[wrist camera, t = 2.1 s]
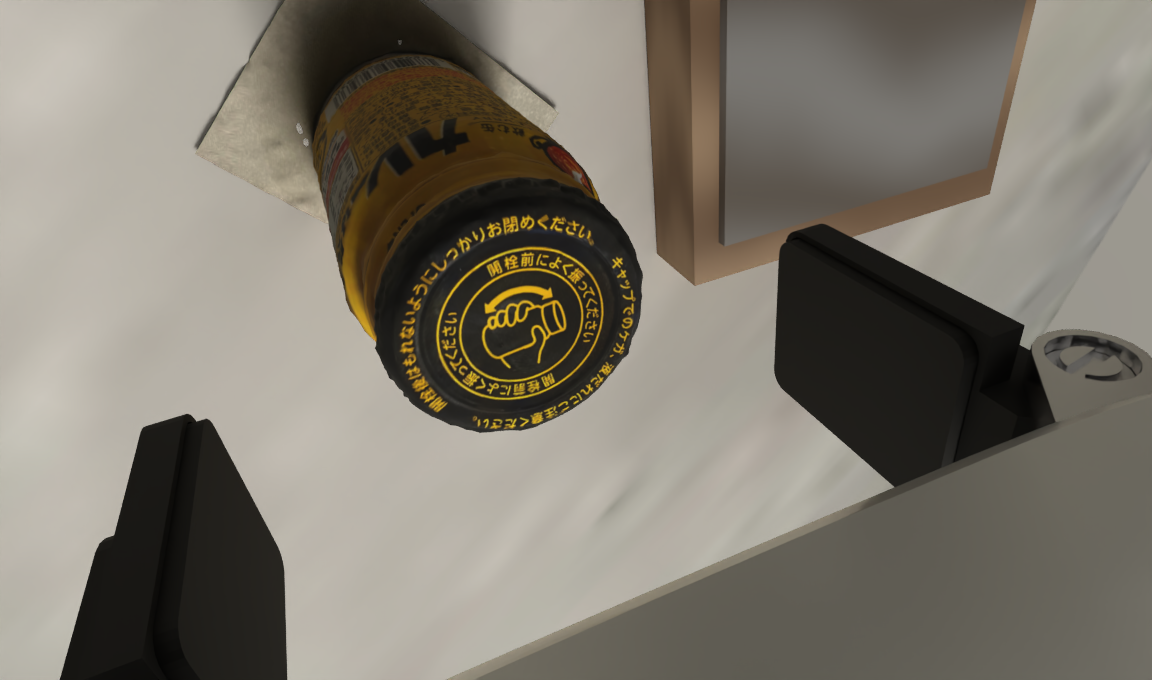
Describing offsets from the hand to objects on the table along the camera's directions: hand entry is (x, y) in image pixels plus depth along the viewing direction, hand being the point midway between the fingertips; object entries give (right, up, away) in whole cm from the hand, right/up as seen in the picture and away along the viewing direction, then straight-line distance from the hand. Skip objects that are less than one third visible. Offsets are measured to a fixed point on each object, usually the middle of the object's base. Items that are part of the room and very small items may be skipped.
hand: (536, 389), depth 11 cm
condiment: (-5, +8, +11) cm, 14 cm away
